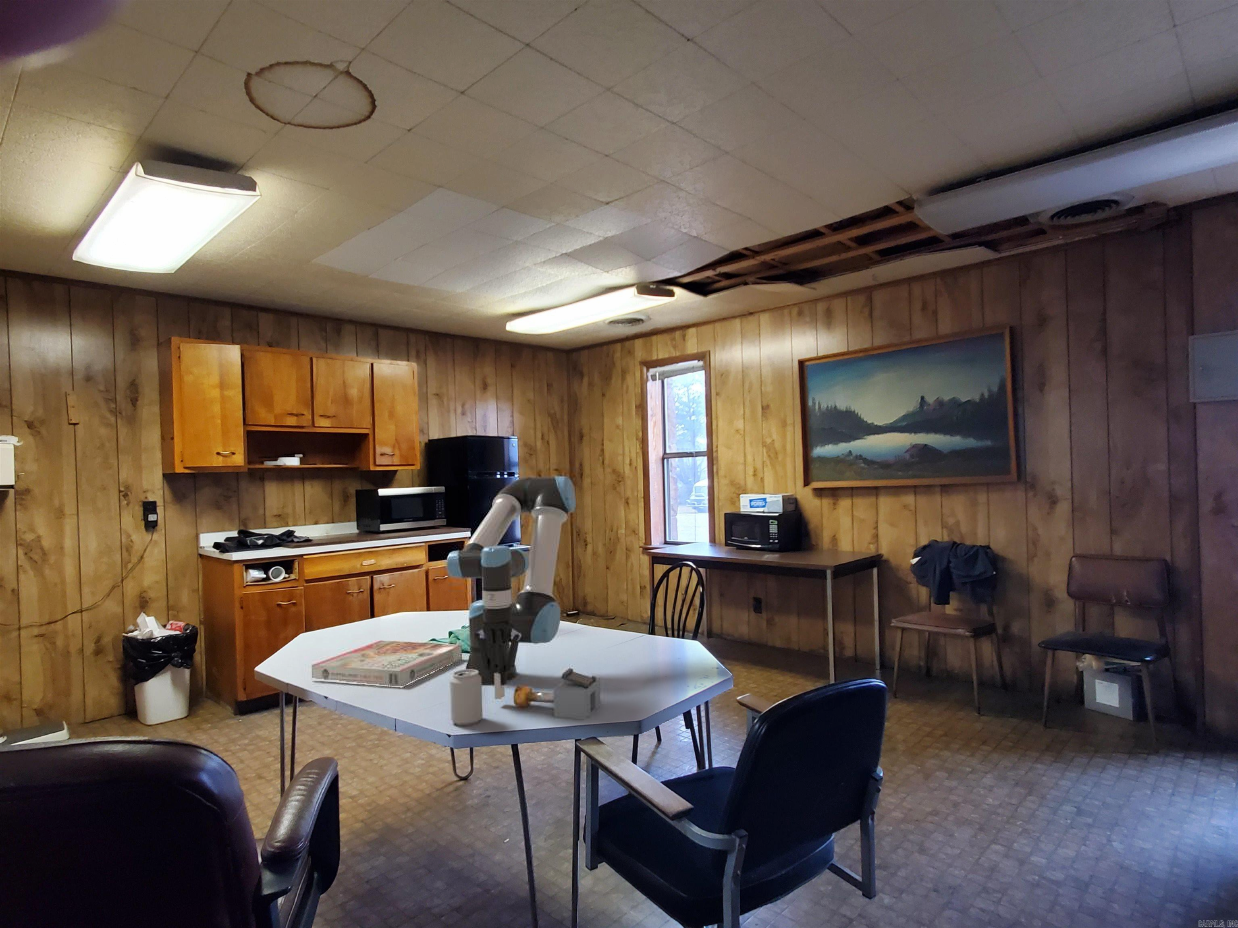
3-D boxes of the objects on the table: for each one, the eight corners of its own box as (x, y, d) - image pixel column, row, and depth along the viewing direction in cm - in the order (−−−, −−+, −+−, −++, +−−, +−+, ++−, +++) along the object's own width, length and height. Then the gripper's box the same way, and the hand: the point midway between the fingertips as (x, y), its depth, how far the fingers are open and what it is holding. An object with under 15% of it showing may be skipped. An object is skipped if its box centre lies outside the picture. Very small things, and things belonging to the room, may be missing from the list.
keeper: (559, 679, 173) (561, 674, 173) (569, 672, 180) (571, 666, 180) (587, 688, 171) (588, 683, 171) (596, 680, 178) (597, 675, 178)
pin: (513, 708, 178) (513, 688, 178) (522, 702, 183) (521, 683, 183) (561, 711, 174) (560, 691, 174) (568, 705, 179) (568, 685, 179)
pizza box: (380, 640, 240) (461, 644, 230) (381, 655, 240) (462, 660, 230) (311, 664, 210) (401, 671, 200) (312, 682, 210) (401, 689, 200)
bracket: (554, 716, 171) (553, 690, 171) (571, 701, 182) (570, 676, 182) (585, 719, 169) (584, 691, 169) (600, 703, 180) (599, 677, 180)
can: (461, 715, 174) (459, 666, 175) (488, 717, 172) (486, 668, 173) (445, 725, 167) (443, 675, 168) (473, 727, 165) (471, 676, 165)
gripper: (467, 607, 180) (470, 700, 180) (514, 609, 177) (516, 703, 176) (481, 602, 188) (484, 691, 187) (526, 603, 184) (528, 694, 183)
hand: (499, 697), depth 181 cm, fingers closed
